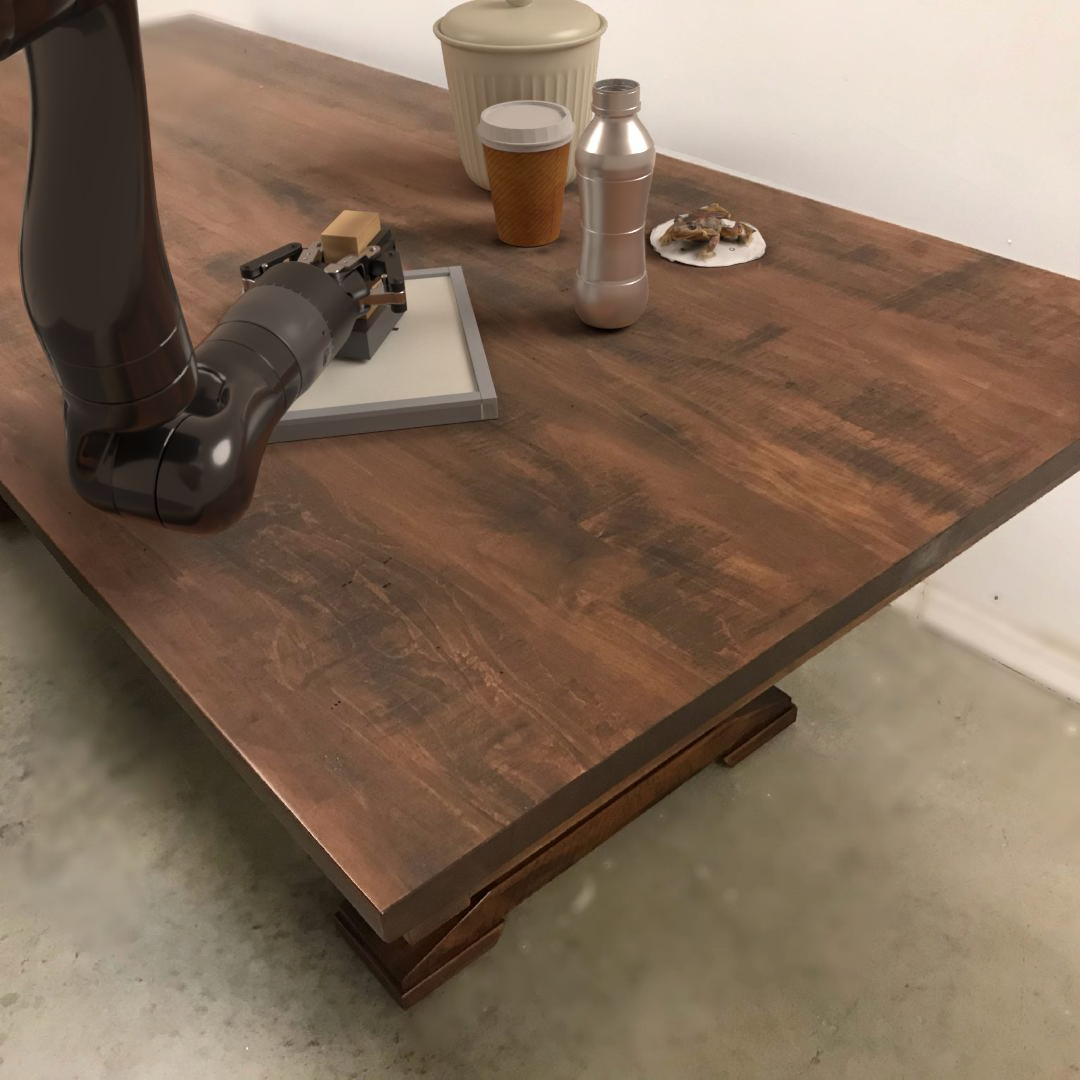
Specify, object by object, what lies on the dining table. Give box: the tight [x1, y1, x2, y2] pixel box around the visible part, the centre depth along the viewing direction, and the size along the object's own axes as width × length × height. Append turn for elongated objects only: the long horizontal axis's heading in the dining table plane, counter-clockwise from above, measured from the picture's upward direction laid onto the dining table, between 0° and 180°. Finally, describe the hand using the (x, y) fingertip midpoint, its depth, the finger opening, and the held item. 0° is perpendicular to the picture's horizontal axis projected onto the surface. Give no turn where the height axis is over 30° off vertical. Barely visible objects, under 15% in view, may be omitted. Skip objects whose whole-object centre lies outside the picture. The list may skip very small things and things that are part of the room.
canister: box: [432, 0, 609, 192], centre depth 117 cm, size 18×18×21 cm
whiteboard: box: [241, 265, 499, 444], centre depth 92 cm, size 20×24×2 cm
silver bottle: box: [571, 77, 657, 329], centre depth 91 cm, size 6×7×20 cm
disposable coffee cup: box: [476, 100, 576, 248], centre depth 108 cm, size 10×10×12 cm
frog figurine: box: [649, 203, 767, 268], centre depth 108 cm, size 12×12×4 cm
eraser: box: [320, 209, 405, 360], centre depth 89 cm, size 4×9×10 cm, turn 167°
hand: (366, 238), depth 90 cm, fingers closed on eraser, 3 cm apart
